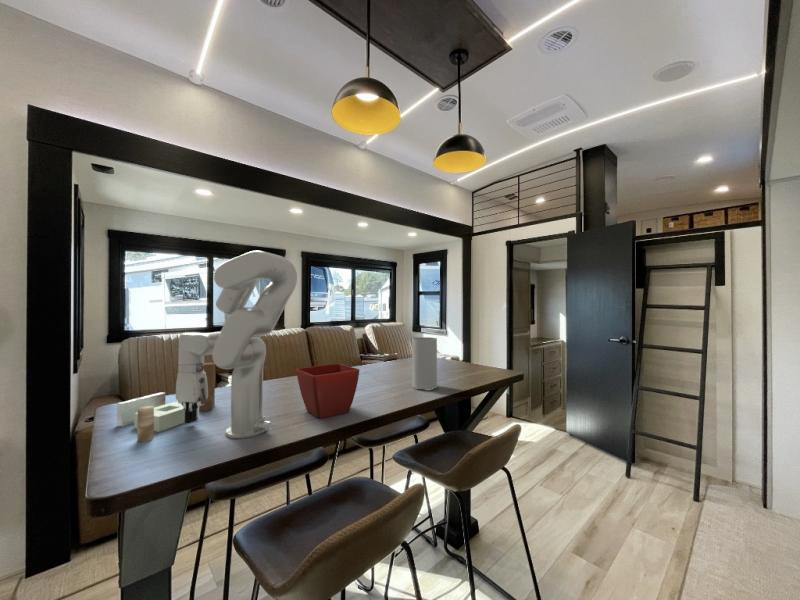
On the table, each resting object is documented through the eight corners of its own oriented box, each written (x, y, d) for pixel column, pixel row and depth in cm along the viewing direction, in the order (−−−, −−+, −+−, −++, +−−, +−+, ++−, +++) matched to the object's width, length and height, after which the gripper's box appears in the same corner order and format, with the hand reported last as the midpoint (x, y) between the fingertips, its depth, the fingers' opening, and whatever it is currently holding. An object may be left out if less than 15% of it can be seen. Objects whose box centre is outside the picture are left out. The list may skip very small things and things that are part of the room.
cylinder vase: (438, 390, 159) (438, 339, 159) (413, 390, 159) (412, 339, 159) (435, 384, 171) (435, 337, 172) (411, 384, 171) (411, 337, 172)
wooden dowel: (156, 438, 102) (157, 406, 102) (143, 443, 98) (143, 410, 98) (147, 436, 103) (148, 405, 103) (133, 441, 99) (134, 409, 100)
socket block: (198, 417, 121) (198, 404, 121) (158, 431, 107) (159, 416, 107) (175, 414, 124) (175, 401, 124) (134, 428, 110) (134, 413, 110)
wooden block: (211, 411, 129) (212, 365, 129) (198, 412, 127) (199, 366, 127) (214, 405, 137) (215, 362, 138) (202, 406, 135) (202, 363, 136)
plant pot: (295, 410, 130) (295, 368, 130) (338, 401, 141) (338, 362, 141) (313, 423, 114) (313, 375, 115) (360, 413, 126) (360, 369, 126)
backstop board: (165, 413, 126) (165, 392, 126) (122, 427, 112) (122, 403, 112) (160, 413, 127) (160, 392, 127) (117, 426, 113) (117, 403, 113)
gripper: (217, 367, 114) (216, 420, 114) (185, 365, 119) (184, 416, 118) (198, 371, 107) (197, 427, 106) (164, 369, 111) (164, 423, 111)
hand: (190, 421), depth 112 cm, fingers closed
